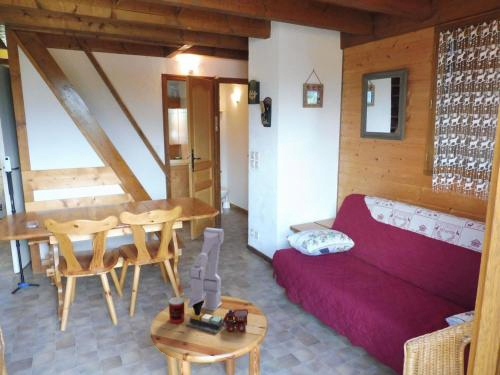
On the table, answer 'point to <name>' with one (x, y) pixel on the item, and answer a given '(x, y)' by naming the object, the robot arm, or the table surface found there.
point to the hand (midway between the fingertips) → (197, 314)
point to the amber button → (197, 316)
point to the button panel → (205, 325)
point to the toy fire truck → (236, 320)
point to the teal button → (216, 320)
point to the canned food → (176, 310)
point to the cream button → (207, 318)
